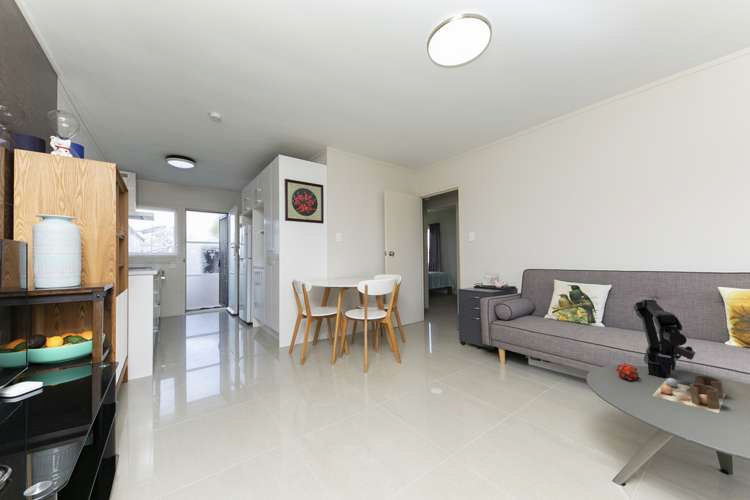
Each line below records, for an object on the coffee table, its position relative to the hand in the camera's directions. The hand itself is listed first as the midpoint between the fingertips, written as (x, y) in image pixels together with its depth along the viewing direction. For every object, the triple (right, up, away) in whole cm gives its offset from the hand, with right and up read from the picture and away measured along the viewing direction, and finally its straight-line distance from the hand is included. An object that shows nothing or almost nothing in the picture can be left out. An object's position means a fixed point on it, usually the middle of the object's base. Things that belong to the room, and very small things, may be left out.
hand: (670, 372), depth 134 cm
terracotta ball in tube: (-4, -6, -17) cm, 19 cm away
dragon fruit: (-11, -9, +10) cm, 17 cm away
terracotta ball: (-10, -7, -7) cm, 14 cm away
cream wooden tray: (-2, -7, -8) cm, 11 cm away
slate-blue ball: (0, -7, 0) cm, 7 cm away
